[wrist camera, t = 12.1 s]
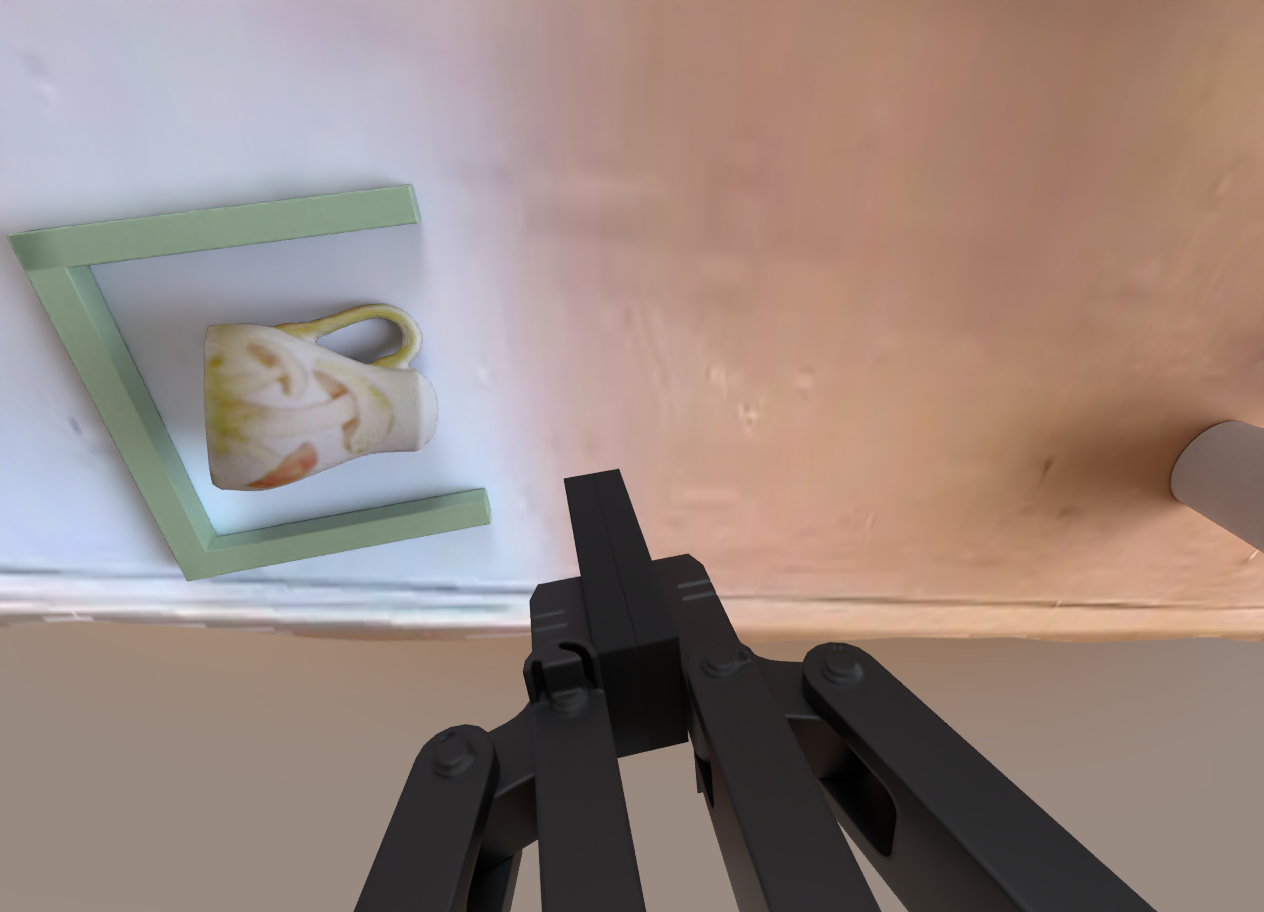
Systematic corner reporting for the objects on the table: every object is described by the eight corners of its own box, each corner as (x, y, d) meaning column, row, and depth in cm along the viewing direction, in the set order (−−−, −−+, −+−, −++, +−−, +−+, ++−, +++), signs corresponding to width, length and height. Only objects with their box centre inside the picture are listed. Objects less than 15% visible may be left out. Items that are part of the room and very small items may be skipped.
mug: (455, 457, 34) (322, 577, 26) (302, 382, 35) (128, 476, 27) (475, 336, 30) (322, 436, 22) (300, 255, 31) (91, 322, 23)
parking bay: (412, 184, 28) (408, 185, 27) (491, 510, 36) (491, 524, 34) (29, 230, 26) (4, 234, 25) (199, 564, 34) (186, 581, 32)
